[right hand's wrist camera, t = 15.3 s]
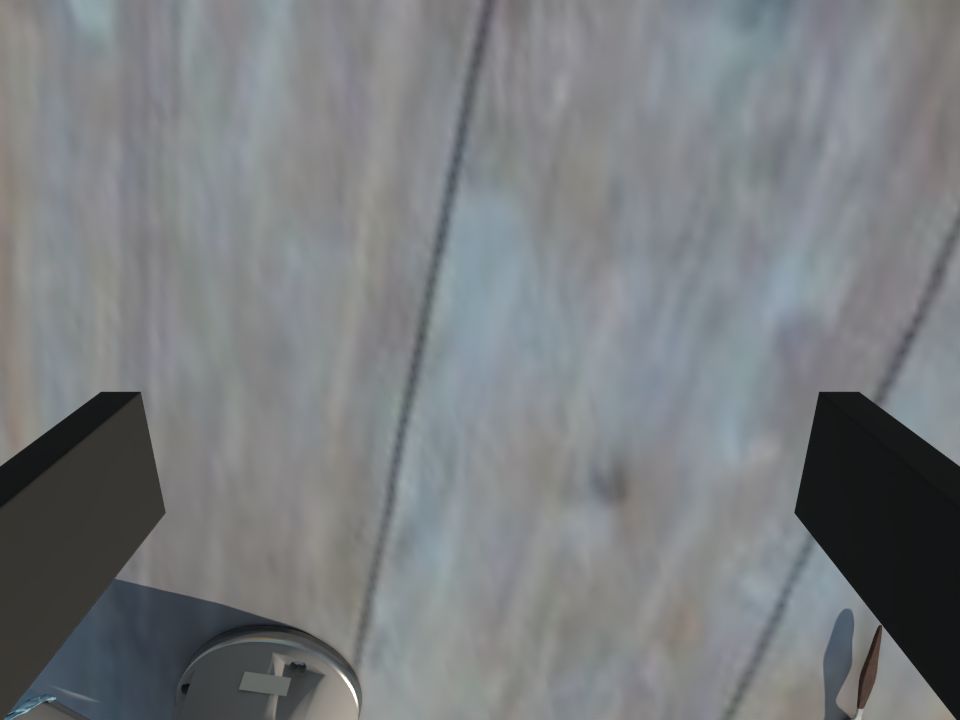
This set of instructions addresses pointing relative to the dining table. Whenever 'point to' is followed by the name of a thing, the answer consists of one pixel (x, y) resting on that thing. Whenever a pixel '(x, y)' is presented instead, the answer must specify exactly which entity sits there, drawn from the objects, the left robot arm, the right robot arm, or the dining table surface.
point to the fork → (868, 674)
